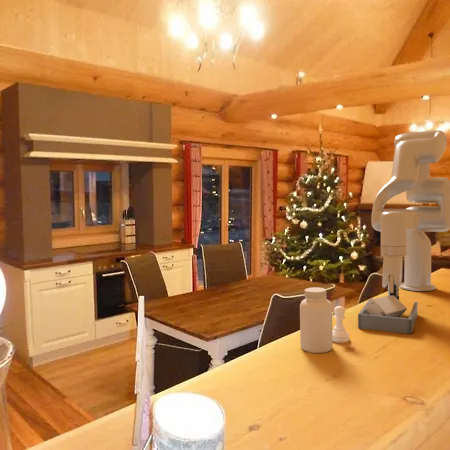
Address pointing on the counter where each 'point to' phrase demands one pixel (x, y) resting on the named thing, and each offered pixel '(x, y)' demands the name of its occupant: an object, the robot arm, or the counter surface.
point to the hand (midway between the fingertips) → (393, 308)
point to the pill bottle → (316, 321)
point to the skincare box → (386, 307)
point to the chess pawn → (339, 326)
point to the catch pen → (387, 321)
